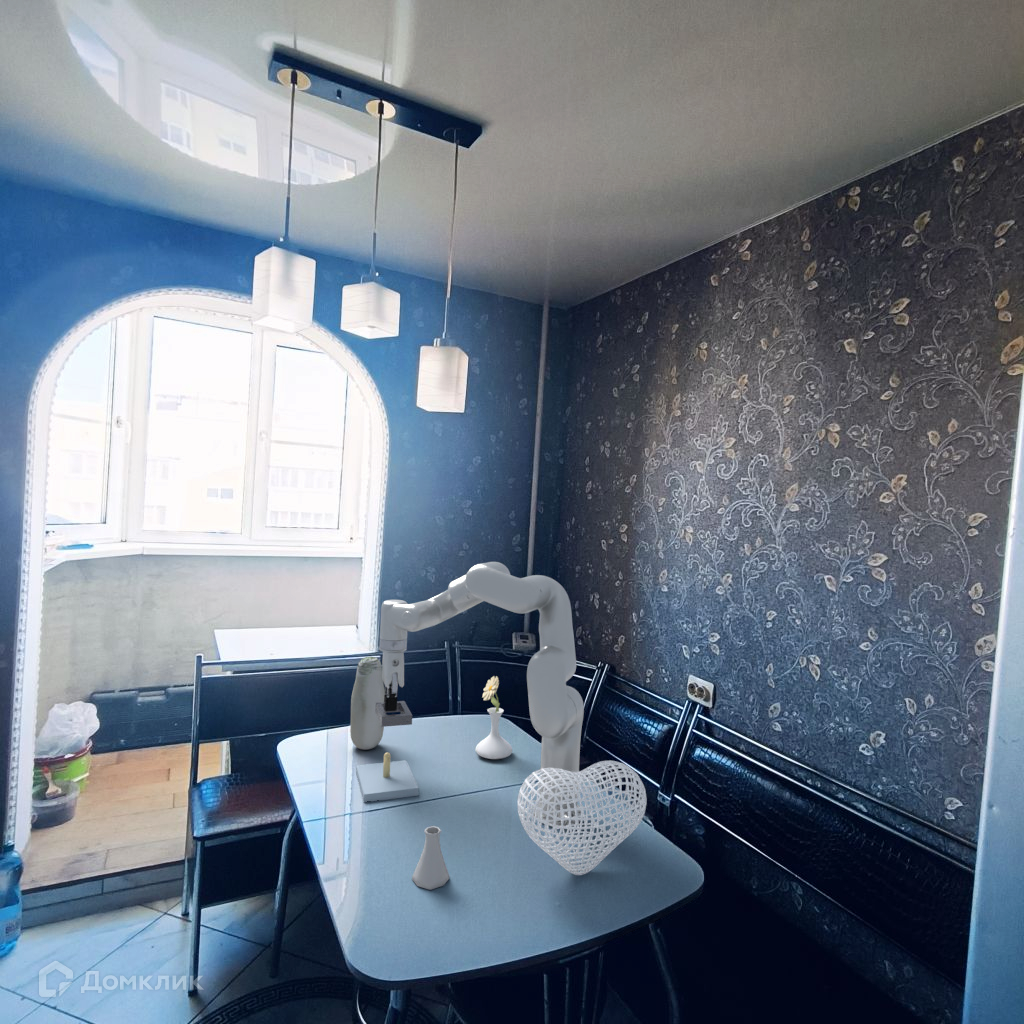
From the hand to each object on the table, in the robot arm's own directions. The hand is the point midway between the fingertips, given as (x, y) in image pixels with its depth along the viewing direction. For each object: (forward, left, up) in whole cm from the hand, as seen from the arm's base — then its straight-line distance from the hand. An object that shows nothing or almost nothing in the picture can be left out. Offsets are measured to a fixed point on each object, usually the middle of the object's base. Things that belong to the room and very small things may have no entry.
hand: (390, 709), depth 173 cm
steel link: (-5, 0, -1) cm, 5 cm away
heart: (-59, -31, -18) cm, 69 cm away
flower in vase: (+3, -33, -18) cm, 37 cm away
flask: (-52, -1, -18) cm, 55 cm away
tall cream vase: (+19, +3, -18) cm, 26 cm away
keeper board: (-7, +1, -18) cm, 19 cm away
